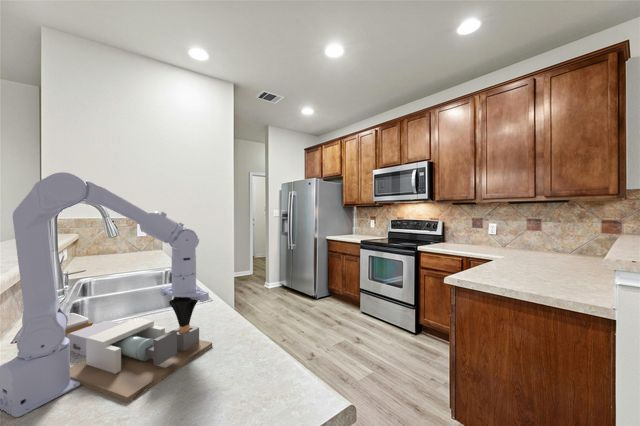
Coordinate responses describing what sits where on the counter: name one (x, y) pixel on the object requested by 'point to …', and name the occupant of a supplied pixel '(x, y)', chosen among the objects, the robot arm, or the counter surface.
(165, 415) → the counter surface
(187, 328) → the orange rounded peg
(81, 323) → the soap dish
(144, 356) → the grey and blue plunger
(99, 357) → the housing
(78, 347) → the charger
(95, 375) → the mounting board
